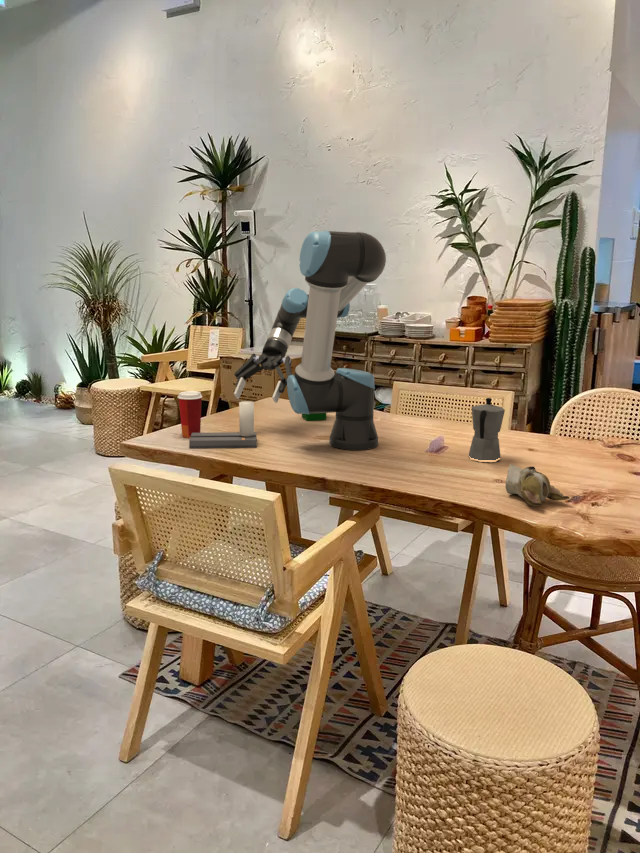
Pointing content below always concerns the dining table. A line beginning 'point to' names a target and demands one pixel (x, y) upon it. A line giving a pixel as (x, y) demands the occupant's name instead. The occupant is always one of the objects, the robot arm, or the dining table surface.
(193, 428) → the paper cup
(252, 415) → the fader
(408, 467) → the dining table surface
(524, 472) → the ceramic sculpture
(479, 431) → the coffeepot
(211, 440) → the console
